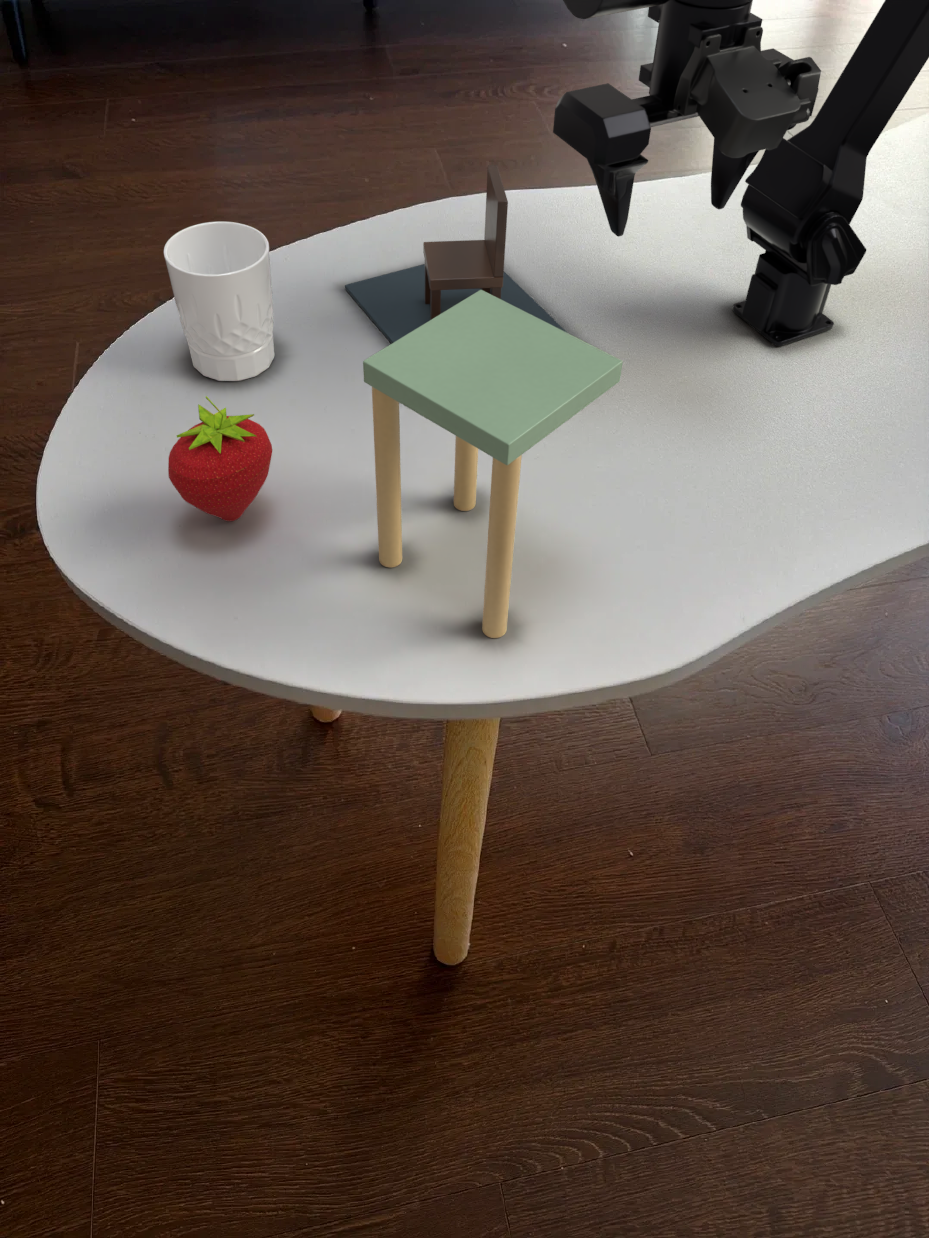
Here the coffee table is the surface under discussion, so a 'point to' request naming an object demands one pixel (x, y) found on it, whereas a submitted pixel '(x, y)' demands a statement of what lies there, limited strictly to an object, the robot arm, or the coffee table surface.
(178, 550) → the coffee table surface
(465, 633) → the coffee table surface
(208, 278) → the white cup
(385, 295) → the mat
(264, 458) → the strawberry
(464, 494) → the side table
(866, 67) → the robot arm
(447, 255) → the chair
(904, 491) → the coffee table surface
